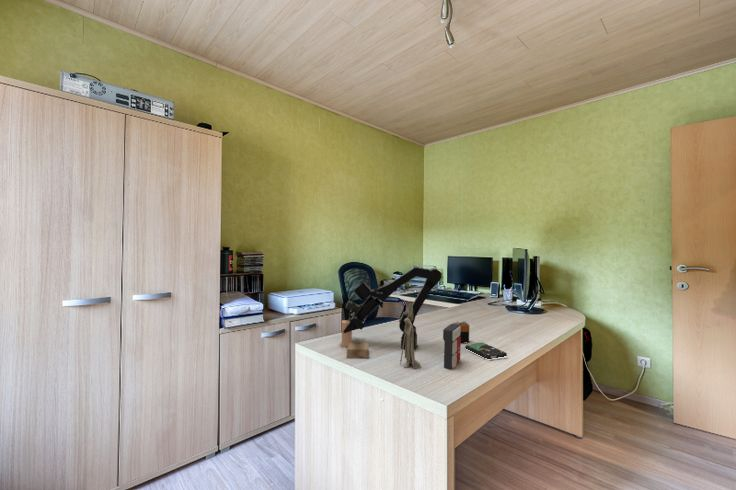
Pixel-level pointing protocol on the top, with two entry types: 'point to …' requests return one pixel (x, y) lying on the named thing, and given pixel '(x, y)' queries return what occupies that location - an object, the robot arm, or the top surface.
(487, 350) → the disk drive
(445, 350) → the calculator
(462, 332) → the battery
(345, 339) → the terracotta block
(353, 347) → the walnut block
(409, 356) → the wizard figurine
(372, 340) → the top surface
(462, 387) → the top surface
